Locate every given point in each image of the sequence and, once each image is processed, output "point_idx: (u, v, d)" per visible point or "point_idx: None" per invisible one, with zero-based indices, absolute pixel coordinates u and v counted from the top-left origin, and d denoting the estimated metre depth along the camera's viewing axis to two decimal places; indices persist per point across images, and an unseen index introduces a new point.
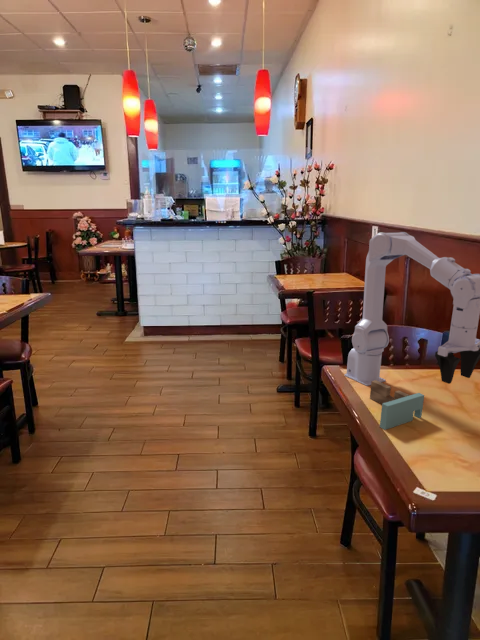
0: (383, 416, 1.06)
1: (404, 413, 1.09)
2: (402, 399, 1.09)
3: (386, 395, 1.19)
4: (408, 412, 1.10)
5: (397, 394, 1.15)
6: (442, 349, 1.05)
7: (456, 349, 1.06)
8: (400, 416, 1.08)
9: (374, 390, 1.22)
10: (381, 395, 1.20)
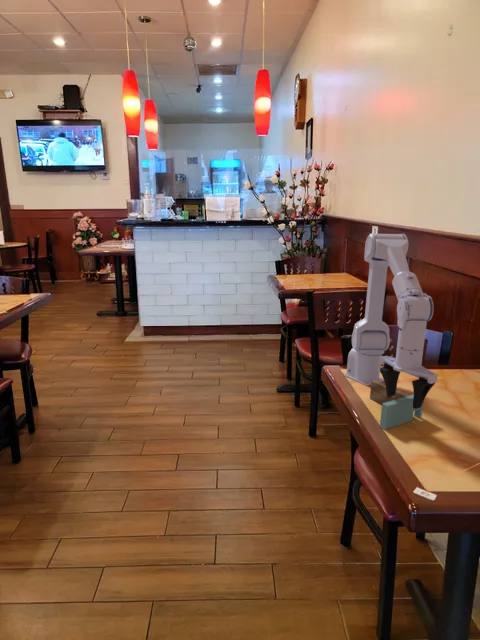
0: (383, 416, 1.06)
1: (404, 413, 1.09)
2: (402, 399, 1.09)
3: (386, 395, 1.19)
4: (408, 412, 1.10)
5: (397, 394, 1.15)
6: None
7: (388, 362, 1.09)
8: (400, 416, 1.08)
9: (374, 390, 1.22)
10: (381, 395, 1.20)
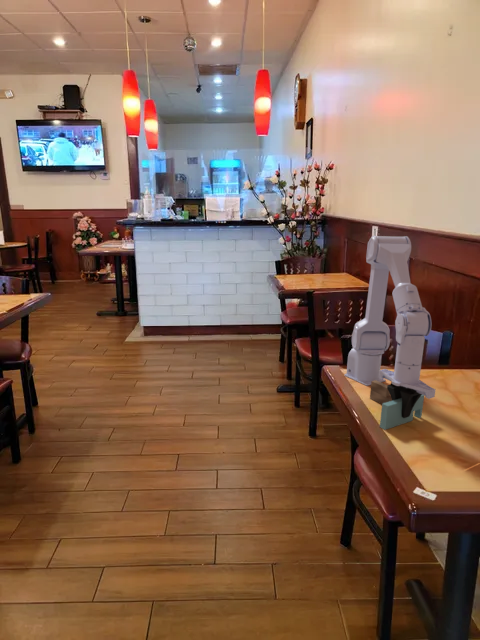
0: (383, 416, 1.06)
1: None
2: None
3: (386, 395, 1.19)
4: None
5: None
6: None
7: (386, 375, 1.10)
8: (400, 416, 1.08)
9: (374, 390, 1.22)
10: (381, 395, 1.20)
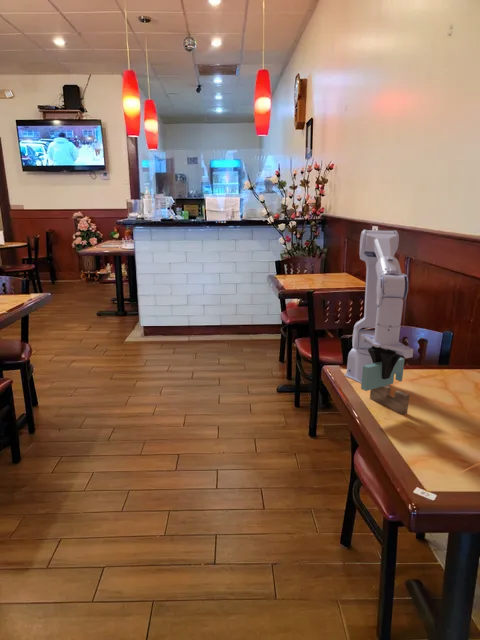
0: (364, 378, 1.10)
1: None
2: None
3: (386, 395, 1.19)
4: None
5: (397, 394, 1.15)
6: None
7: (367, 339, 1.14)
8: (381, 378, 1.12)
9: (374, 390, 1.22)
10: (381, 395, 1.20)
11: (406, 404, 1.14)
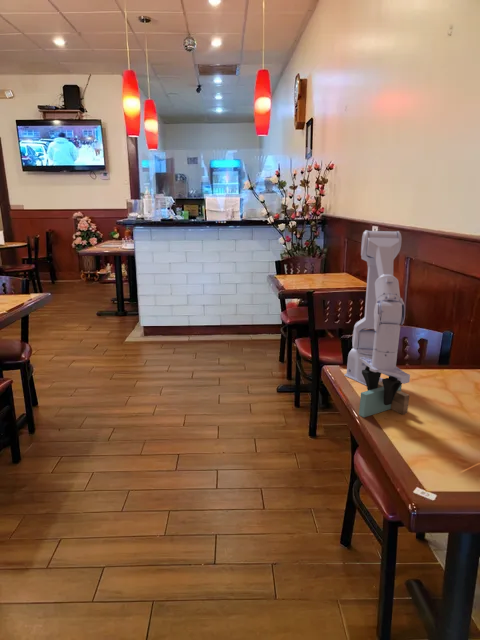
0: (362, 404, 1.12)
1: (382, 402, 1.15)
2: (380, 388, 1.15)
3: None
4: None
5: (397, 394, 1.15)
6: None
7: (365, 363, 1.16)
8: (378, 405, 1.14)
9: None
10: None
11: (406, 404, 1.14)
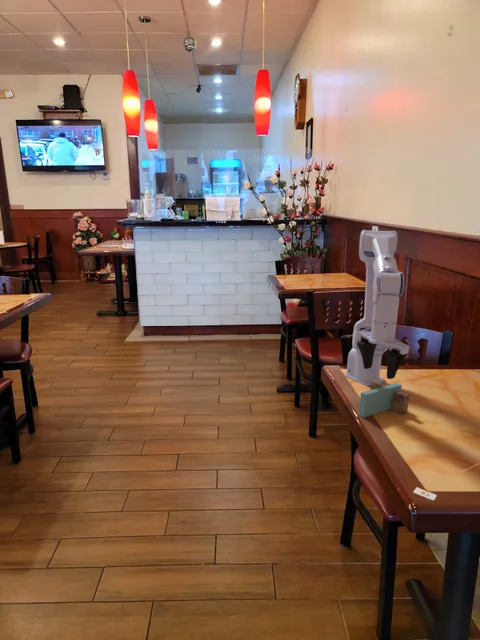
0: (362, 404, 1.12)
1: (382, 402, 1.15)
2: (380, 388, 1.15)
3: None
4: (386, 401, 1.16)
5: (397, 394, 1.15)
6: None
7: (364, 336, 1.16)
8: (378, 405, 1.14)
9: None
10: None
11: (406, 404, 1.14)
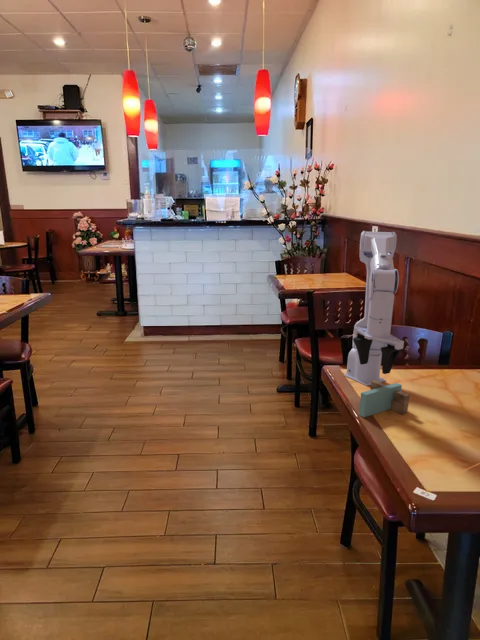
0: (362, 404, 1.12)
1: (382, 402, 1.15)
2: (380, 388, 1.15)
3: None
4: (386, 401, 1.16)
5: (397, 394, 1.15)
6: None
7: (360, 332, 1.18)
8: (378, 405, 1.14)
9: None
10: None
11: (406, 404, 1.14)
